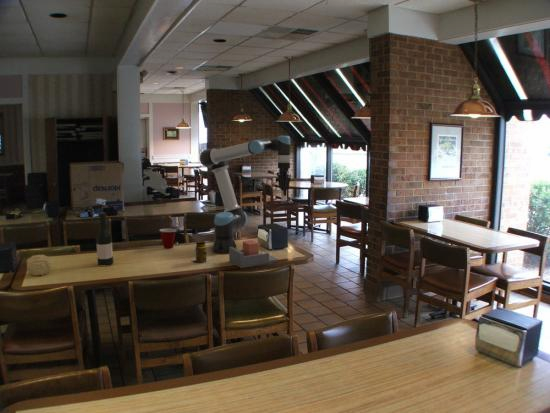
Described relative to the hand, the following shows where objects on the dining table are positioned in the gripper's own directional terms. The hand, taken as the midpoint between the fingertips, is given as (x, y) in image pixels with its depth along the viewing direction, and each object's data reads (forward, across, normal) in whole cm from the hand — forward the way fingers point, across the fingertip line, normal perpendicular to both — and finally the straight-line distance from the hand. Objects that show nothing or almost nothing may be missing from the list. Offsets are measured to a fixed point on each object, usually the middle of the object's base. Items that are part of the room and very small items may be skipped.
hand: (283, 200), depth 292 cm
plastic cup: (+33, +46, +58) cm, 81 cm away
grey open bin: (+32, -8, +25) cm, 42 cm away
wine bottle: (+33, +31, +100) cm, 110 cm away
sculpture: (+33, +31, +134) cm, 141 cm away
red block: (+31, -8, +27) cm, 41 cm away
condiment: (+33, +8, +52) cm, 62 cm away
